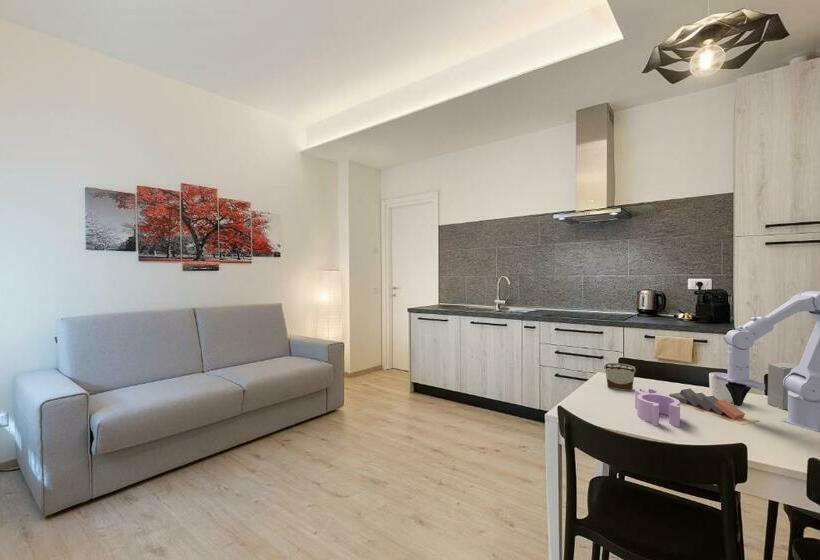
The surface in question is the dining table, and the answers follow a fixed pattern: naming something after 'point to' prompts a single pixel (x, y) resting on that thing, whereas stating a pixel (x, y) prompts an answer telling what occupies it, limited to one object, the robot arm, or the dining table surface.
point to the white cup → (719, 388)
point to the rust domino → (729, 409)
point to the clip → (656, 406)
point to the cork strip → (739, 421)
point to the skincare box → (778, 384)
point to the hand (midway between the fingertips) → (738, 405)
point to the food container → (620, 375)
